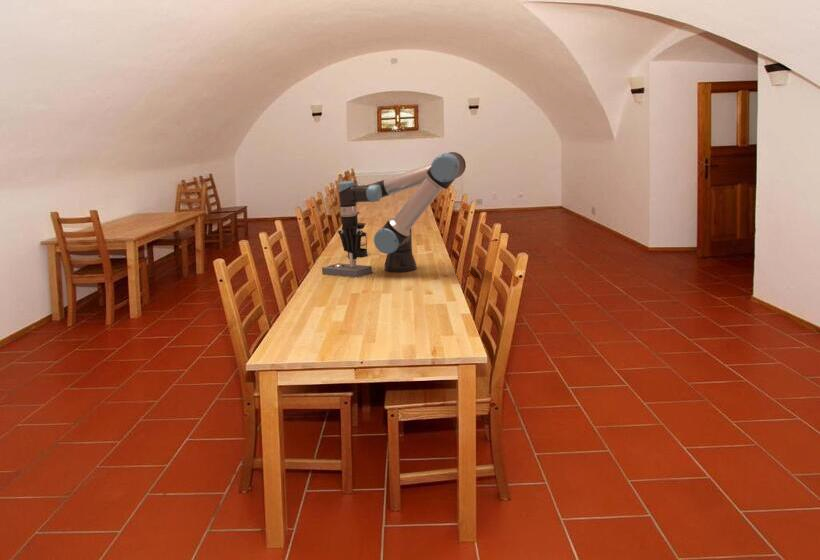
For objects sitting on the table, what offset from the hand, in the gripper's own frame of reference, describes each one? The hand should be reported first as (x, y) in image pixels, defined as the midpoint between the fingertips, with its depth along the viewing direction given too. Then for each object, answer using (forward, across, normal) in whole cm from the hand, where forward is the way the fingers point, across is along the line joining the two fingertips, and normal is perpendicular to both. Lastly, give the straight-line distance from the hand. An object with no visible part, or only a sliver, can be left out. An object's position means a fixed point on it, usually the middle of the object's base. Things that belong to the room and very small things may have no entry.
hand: (353, 266), depth 339 cm
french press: (+3, -26, +37) cm, 46 cm away
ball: (+1, -9, 0) cm, 9 cm away
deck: (+4, -4, 0) cm, 5 cm away
